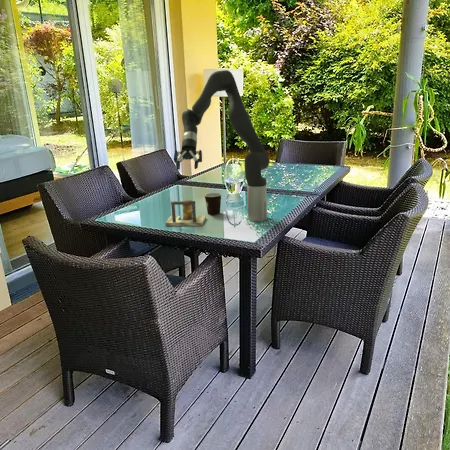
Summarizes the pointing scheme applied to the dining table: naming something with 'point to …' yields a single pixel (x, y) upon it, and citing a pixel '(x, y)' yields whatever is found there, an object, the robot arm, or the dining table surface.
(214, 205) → the coffee mug
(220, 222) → the dining table surface
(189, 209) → the wooden knob
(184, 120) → the robot arm
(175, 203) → the u-shaped handle base
